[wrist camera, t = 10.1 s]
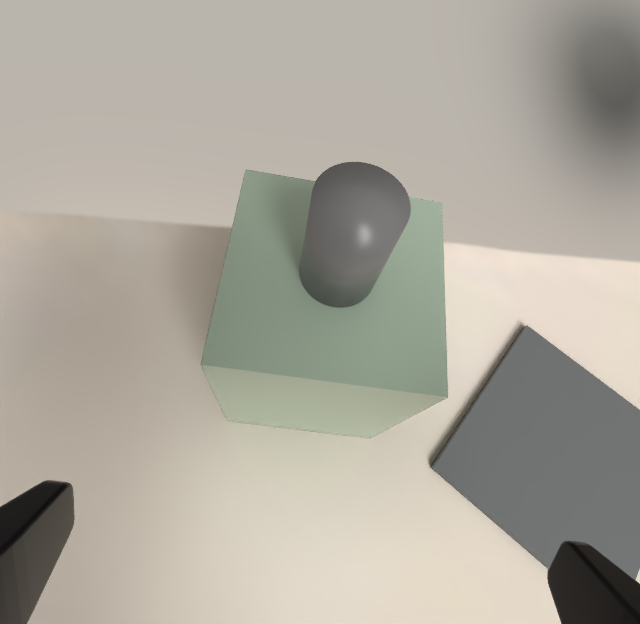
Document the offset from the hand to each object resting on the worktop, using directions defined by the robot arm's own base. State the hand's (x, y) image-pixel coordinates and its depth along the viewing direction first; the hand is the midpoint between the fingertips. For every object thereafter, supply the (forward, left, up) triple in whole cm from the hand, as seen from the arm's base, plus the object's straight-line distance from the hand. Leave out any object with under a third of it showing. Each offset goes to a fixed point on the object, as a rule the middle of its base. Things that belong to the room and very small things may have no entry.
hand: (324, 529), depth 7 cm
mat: (+11, -9, -12) cm, 19 cm away
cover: (+6, +4, -12) cm, 14 cm away
